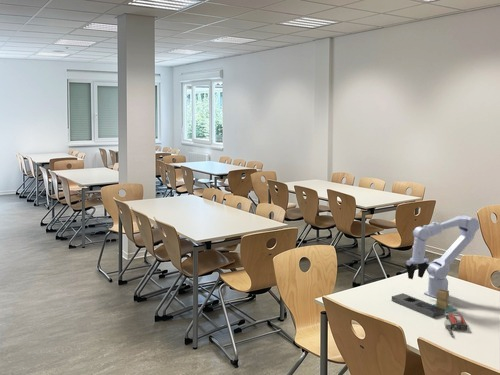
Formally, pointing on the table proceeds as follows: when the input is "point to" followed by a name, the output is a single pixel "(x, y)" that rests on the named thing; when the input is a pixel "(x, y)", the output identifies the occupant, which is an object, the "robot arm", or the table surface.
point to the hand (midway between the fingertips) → (415, 277)
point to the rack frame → (418, 305)
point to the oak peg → (442, 298)
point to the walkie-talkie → (455, 323)
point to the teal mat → (448, 308)
